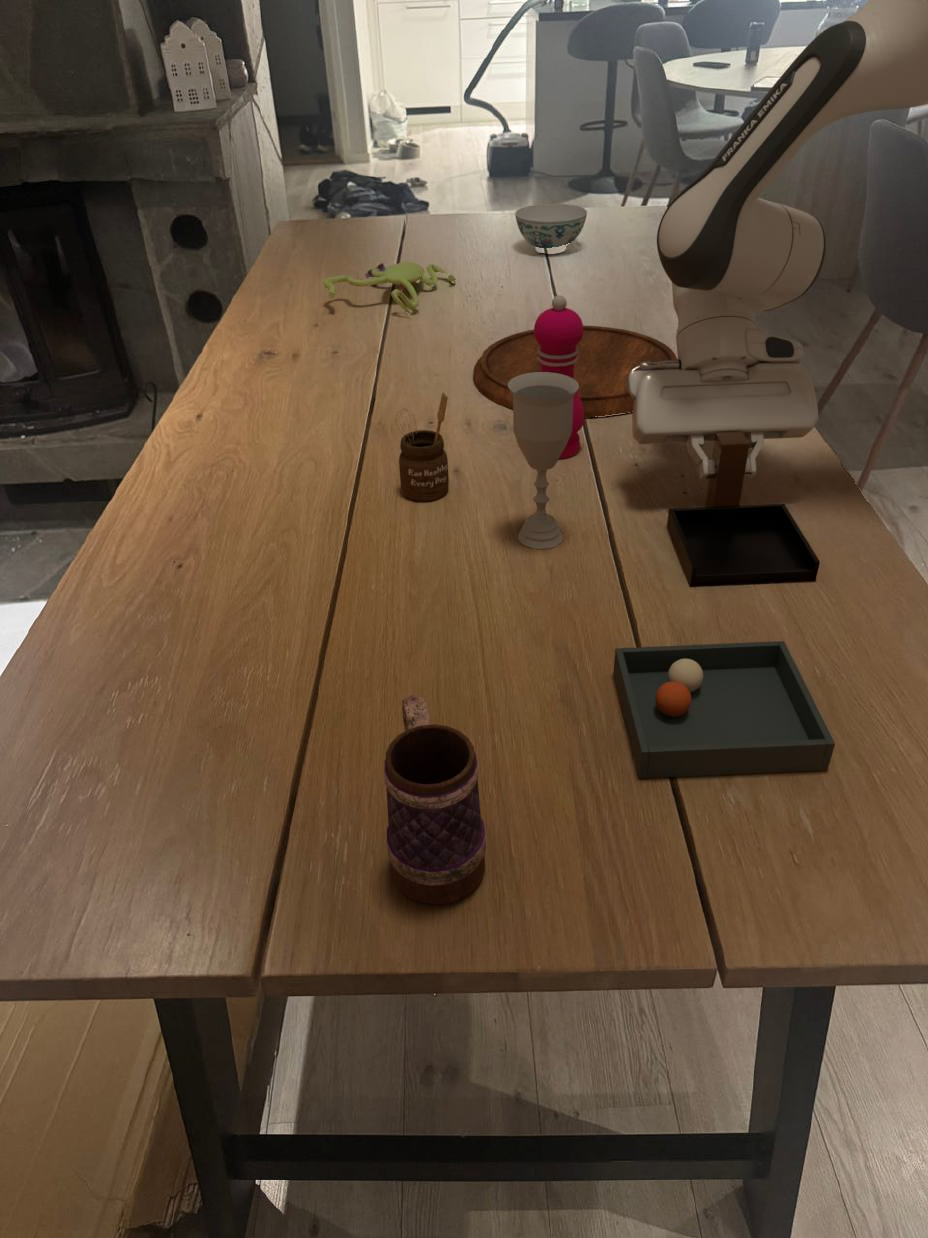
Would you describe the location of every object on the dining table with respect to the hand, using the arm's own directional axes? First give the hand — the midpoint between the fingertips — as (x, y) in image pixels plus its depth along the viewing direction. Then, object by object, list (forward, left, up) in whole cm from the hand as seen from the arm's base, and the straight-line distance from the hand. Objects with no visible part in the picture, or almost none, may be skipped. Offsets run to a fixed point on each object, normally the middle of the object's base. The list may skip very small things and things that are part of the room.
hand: (728, 476), depth 103 cm
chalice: (+21, +2, -6) cm, 22 cm away
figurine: (+41, -87, -6) cm, 96 cm away
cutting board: (+11, -45, -6) cm, 47 cm away
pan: (0, +5, -6) cm, 8 cm away
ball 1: (+11, +29, -4) cm, 31 cm away
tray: (+9, +33, -6) cm, 35 cm away
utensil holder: (+34, -10, -6) cm, 36 cm away
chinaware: (+8, -115, -6) cm, 115 cm away
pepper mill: (+17, -20, -6) cm, 27 cm away
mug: (+33, +46, -6) cm, 57 cm away
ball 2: (+12, +32, -4) cm, 35 cm away
